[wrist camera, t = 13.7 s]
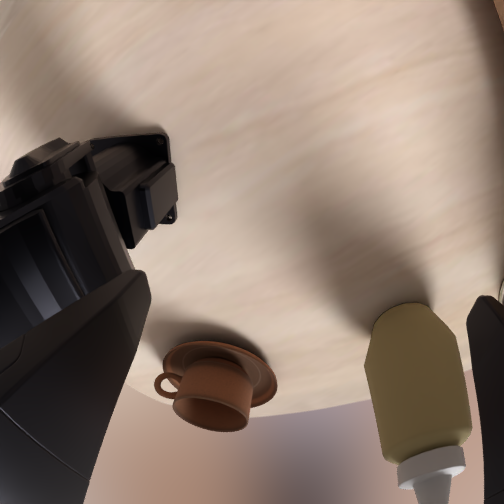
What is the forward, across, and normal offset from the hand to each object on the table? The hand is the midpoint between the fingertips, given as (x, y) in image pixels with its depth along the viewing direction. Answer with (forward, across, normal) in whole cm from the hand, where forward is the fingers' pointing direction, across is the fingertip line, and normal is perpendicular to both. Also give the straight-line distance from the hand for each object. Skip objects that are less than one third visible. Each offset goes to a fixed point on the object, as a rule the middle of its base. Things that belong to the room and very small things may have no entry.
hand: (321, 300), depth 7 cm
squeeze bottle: (+13, -10, +14) cm, 22 cm away
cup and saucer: (+13, +7, +22) cm, 27 cm away
